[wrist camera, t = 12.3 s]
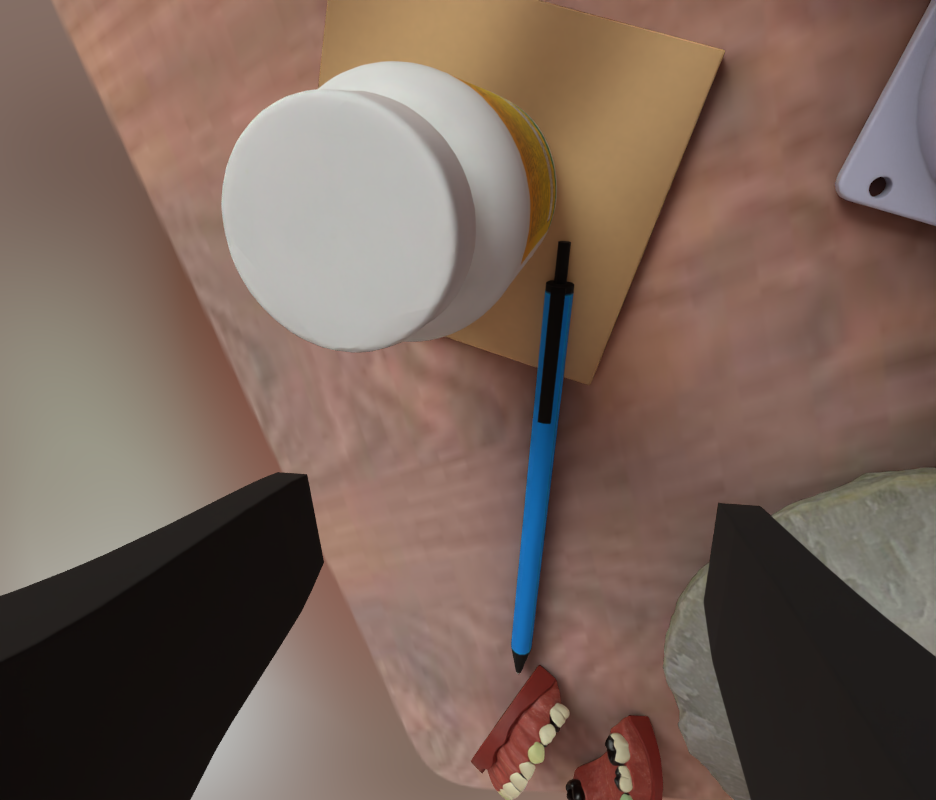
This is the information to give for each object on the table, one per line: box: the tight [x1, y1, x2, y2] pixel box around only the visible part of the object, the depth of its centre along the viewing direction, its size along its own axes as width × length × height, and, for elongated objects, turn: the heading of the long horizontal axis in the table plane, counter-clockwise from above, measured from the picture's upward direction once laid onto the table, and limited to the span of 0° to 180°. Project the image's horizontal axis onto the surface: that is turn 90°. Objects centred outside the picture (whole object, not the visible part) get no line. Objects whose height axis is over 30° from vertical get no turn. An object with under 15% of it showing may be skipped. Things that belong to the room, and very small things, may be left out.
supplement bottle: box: [222, 61, 557, 352], centre depth 13 cm, size 5×5×10 cm
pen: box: [511, 241, 574, 675], centre depth 21 cm, size 1×19×1 cm, turn 178°
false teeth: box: [471, 665, 663, 800], centre depth 25 cm, size 6×4×8 cm
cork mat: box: [318, 0, 725, 385], centre depth 17 cm, size 11×10×1 cm
